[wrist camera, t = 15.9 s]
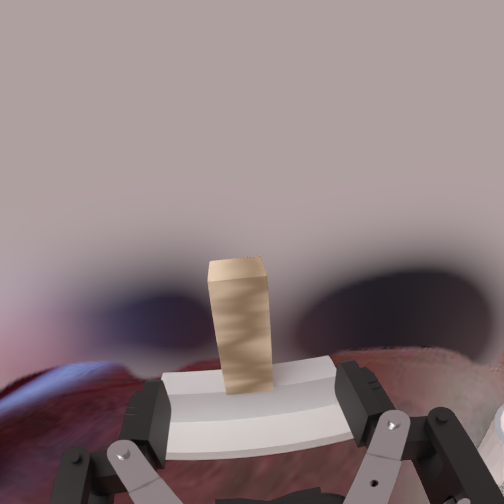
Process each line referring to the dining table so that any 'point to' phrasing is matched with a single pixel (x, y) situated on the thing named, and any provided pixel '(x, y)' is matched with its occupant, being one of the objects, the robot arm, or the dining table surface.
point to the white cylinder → (494, 447)
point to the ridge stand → (254, 413)
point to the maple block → (242, 323)
